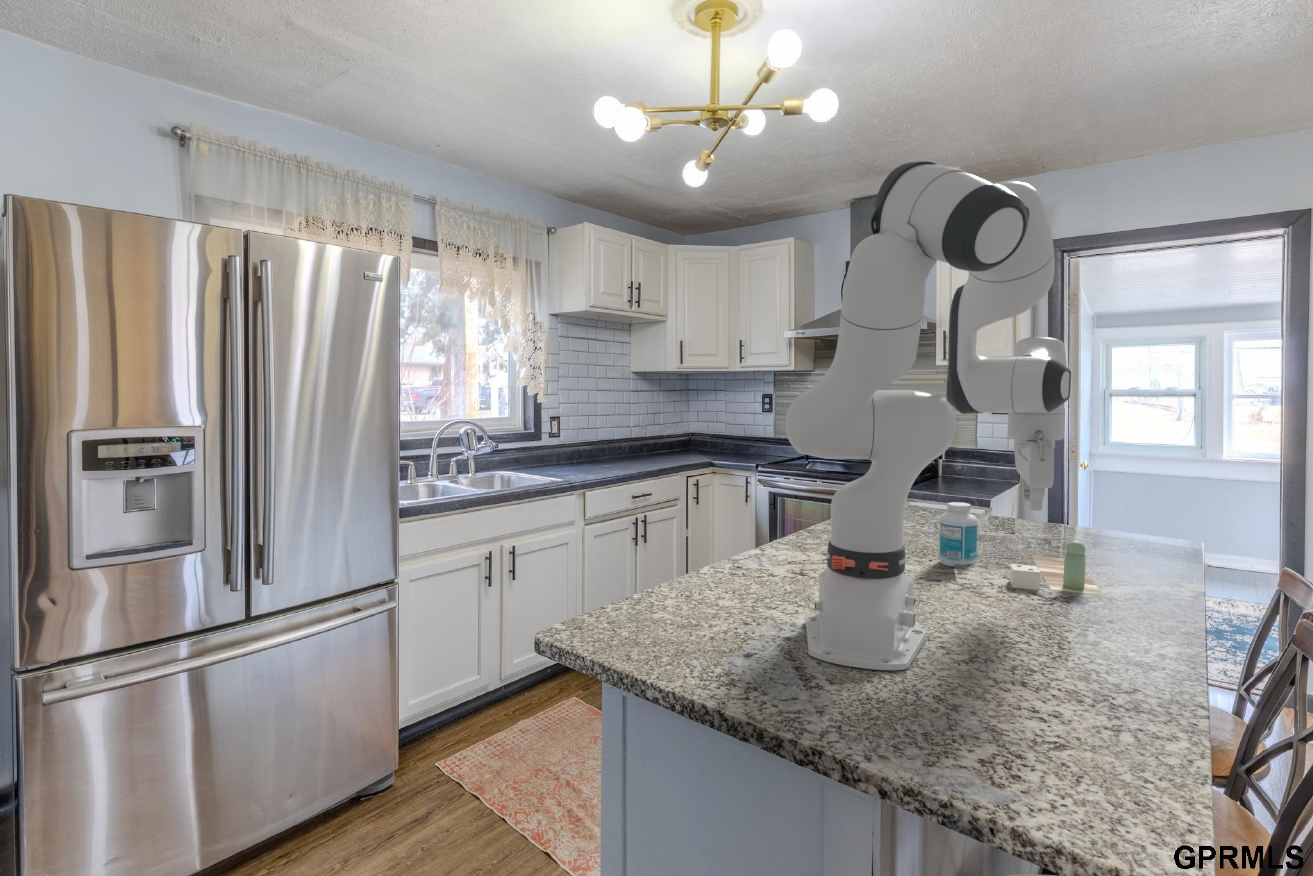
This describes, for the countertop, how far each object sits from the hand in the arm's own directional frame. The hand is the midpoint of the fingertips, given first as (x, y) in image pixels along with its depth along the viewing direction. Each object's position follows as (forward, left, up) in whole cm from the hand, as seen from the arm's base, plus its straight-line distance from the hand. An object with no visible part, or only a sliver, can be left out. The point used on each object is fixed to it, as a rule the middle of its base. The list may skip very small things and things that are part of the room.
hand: (1031, 504), depth 120 cm
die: (+6, 0, -18) cm, 19 cm away
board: (+17, -9, -18) cm, 26 cm away
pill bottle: (+21, +11, -18) cm, 30 cm away
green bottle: (+8, -9, -17) cm, 20 cm away
